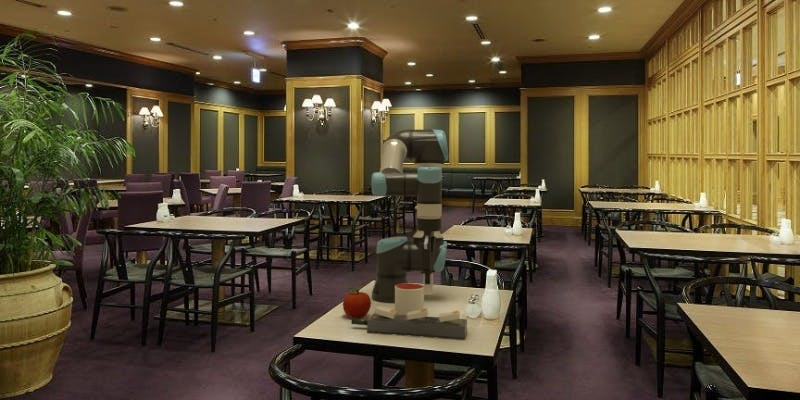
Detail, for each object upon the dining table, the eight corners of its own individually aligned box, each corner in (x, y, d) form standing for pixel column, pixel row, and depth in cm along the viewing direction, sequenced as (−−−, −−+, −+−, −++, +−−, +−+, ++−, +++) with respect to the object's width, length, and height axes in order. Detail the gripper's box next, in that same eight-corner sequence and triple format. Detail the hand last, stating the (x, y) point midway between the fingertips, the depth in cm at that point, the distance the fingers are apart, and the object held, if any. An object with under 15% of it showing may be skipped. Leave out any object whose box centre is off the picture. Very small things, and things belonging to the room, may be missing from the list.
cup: (421, 319, 195) (421, 290, 194) (391, 318, 197) (392, 288, 196) (425, 312, 205) (426, 284, 204) (398, 310, 207) (398, 282, 206)
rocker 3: (441, 318, 181) (440, 313, 181) (460, 315, 180) (459, 310, 180) (440, 322, 178) (438, 316, 178) (459, 318, 176) (458, 313, 176)
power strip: (355, 324, 189) (355, 311, 189) (467, 331, 182) (467, 318, 182) (348, 331, 181) (348, 318, 181) (464, 339, 174) (465, 325, 174)
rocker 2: (409, 316, 183) (408, 311, 183) (428, 313, 182) (427, 308, 182) (407, 319, 180) (406, 314, 180) (426, 316, 178) (425, 310, 178)
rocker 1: (377, 310, 185) (379, 305, 185) (395, 315, 184) (396, 310, 184) (374, 313, 182) (376, 307, 181) (393, 318, 181) (394, 313, 180)
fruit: (369, 320, 193) (369, 291, 193) (340, 320, 194) (340, 290, 193) (372, 313, 203) (372, 284, 202) (344, 312, 203) (345, 284, 203)
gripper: (420, 215, 185) (419, 289, 186) (413, 219, 172) (412, 298, 174) (443, 216, 183) (442, 290, 185) (438, 219, 171) (437, 299, 172)
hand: (427, 294), depth 179 cm, fingers closed
